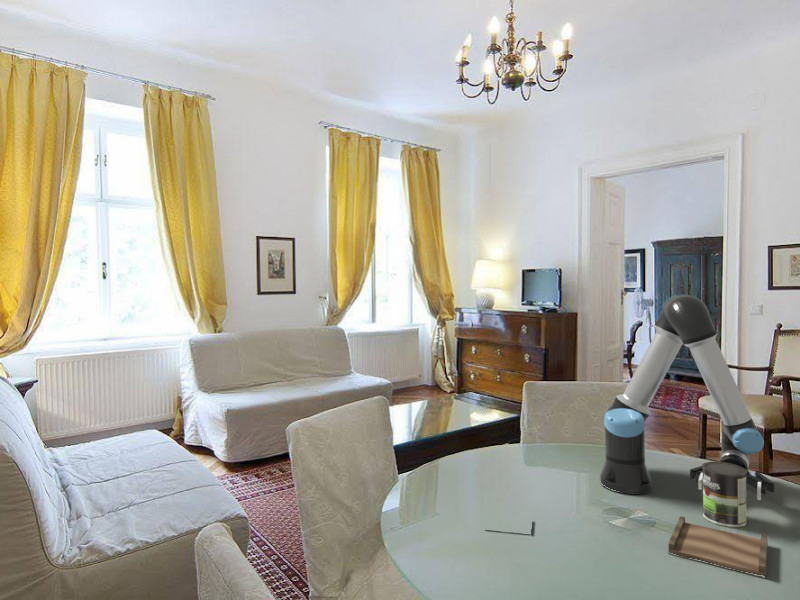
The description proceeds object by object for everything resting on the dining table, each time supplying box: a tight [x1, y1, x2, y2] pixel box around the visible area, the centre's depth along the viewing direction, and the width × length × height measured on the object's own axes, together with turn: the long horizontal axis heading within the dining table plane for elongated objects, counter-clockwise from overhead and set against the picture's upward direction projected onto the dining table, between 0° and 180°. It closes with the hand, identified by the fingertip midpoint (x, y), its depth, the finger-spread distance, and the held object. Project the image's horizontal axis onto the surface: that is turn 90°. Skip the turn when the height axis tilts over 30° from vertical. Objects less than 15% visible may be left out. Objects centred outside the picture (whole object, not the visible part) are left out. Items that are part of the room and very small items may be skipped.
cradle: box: [668, 515, 768, 576], centre depth 125 cm, size 17×19×3 cm
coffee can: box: [701, 461, 748, 528], centre depth 141 cm, size 10×10×14 cm
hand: (728, 489), depth 141 cm, fingers open, 13 cm apart
